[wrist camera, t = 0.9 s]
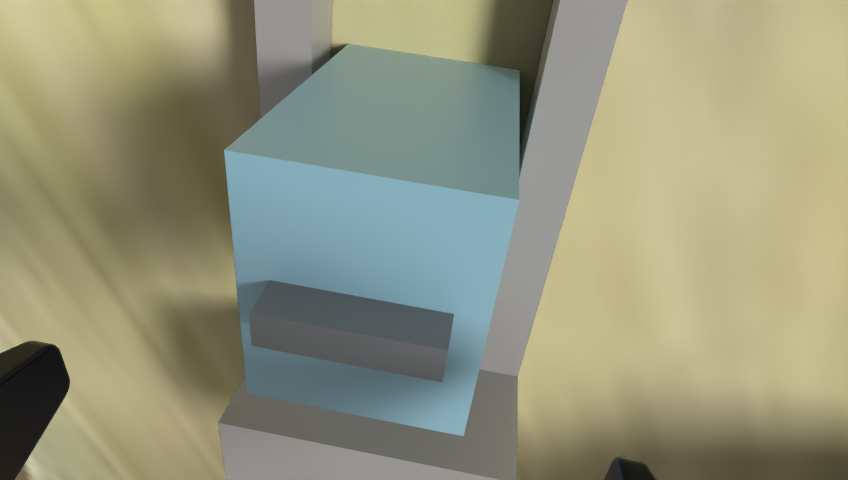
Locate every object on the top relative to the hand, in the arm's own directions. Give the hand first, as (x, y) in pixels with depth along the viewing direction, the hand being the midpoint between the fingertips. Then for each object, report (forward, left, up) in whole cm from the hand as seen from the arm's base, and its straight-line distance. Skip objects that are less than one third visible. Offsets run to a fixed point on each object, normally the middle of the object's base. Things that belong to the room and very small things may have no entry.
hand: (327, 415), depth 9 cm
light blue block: (0, 0, -10) cm, 10 cm away
